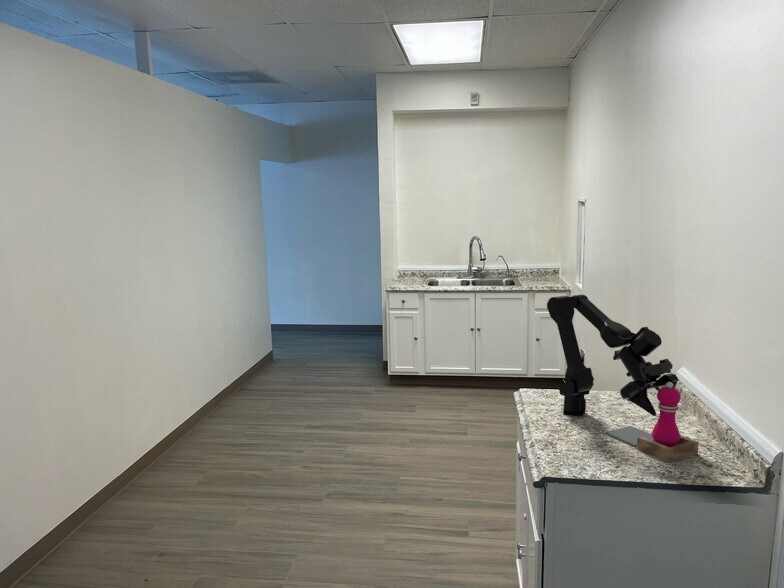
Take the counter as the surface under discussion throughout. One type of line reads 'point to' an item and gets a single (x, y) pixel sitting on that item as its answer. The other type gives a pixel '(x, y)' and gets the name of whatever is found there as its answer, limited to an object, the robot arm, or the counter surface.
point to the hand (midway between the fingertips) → (666, 412)
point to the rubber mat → (629, 435)
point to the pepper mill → (667, 416)
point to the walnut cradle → (669, 449)
